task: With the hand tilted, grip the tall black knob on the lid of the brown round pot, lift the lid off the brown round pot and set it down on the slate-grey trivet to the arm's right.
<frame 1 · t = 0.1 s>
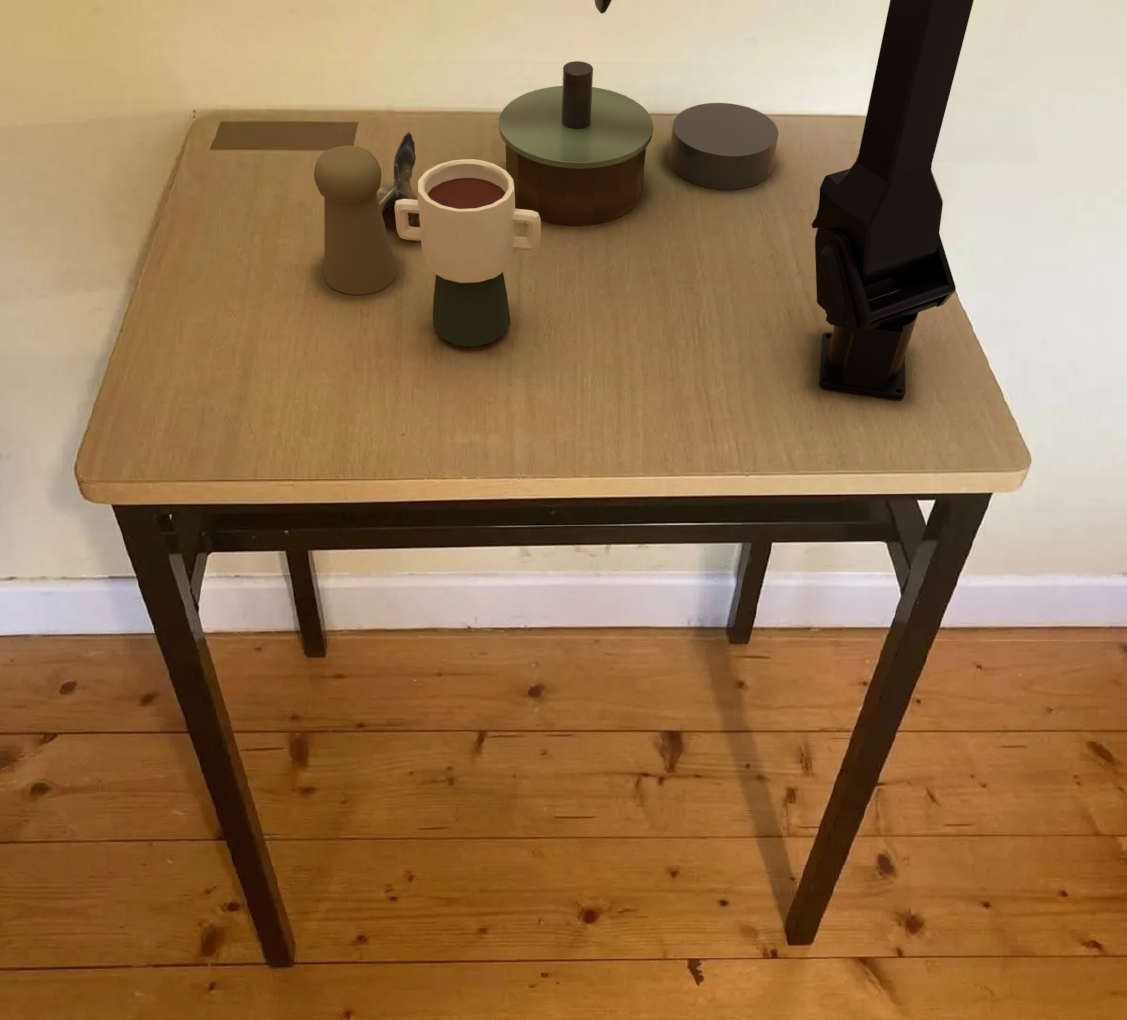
hand: (646, 0, 97), 15 cm above the table, tool pointing down, fingers open, 9 cm apart
brown pawn: (360, 275, 95), on the table
lid: (575, 128, 100), point 6 cm above the table, touching brown round pot
brown round pot: (573, 187, 105), on the table
trivet: (720, 161, 108), on the table
character mug: (472, 329, 90), on the table
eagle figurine: (403, 219, 101), on the table
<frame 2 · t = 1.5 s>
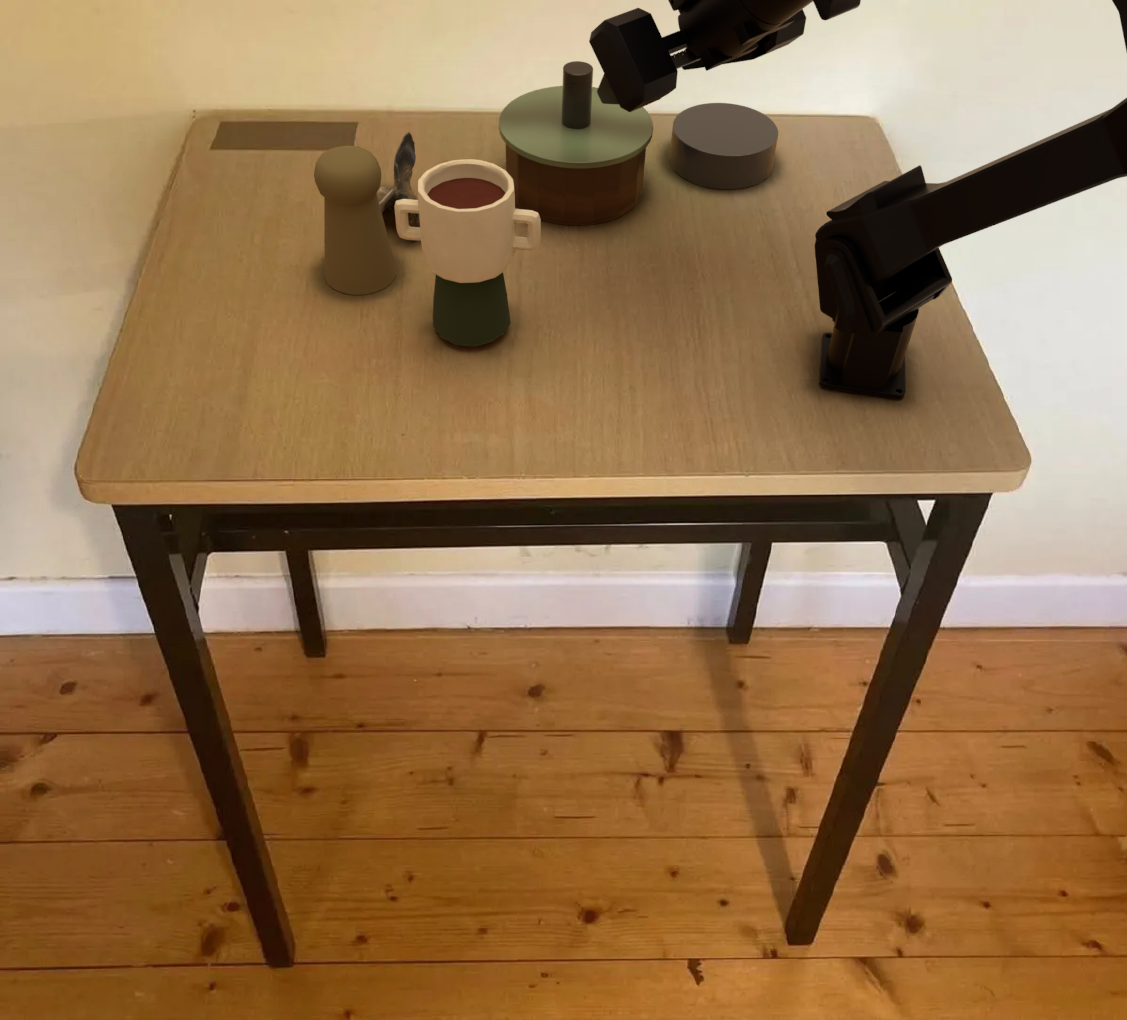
hand: (642, 80, 91), 13 cm above the table, tool tilted 45°, fingers open, 9 cm apart
nothing on the table moved.
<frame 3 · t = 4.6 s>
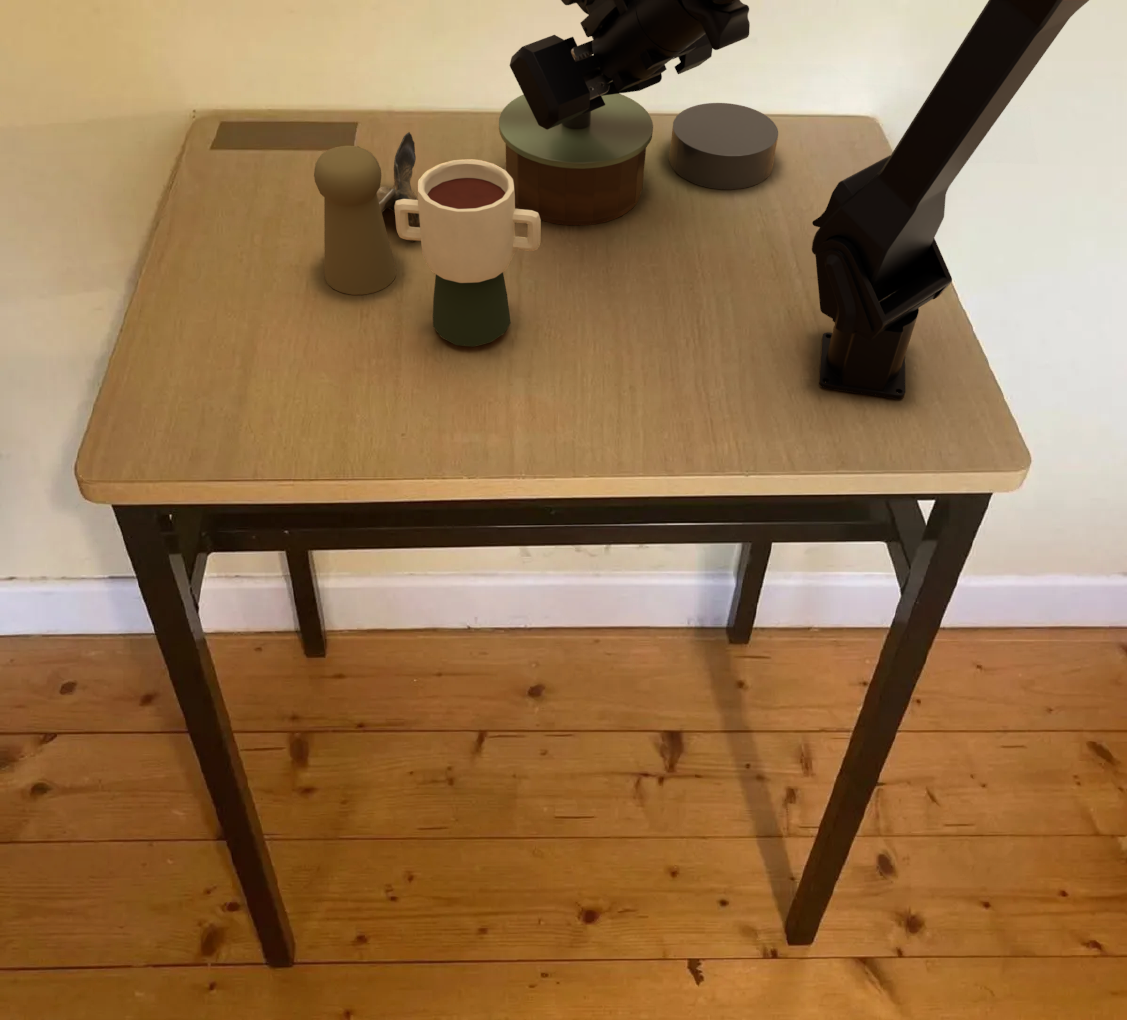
hand: (566, 97, 99), 8 cm above the table, tool tilted 45°, fingers closed on lid, 3 cm apart
lid: (575, 128, 100), point 6 cm above the table, touching brown round pot, gripper
everything else where it was.
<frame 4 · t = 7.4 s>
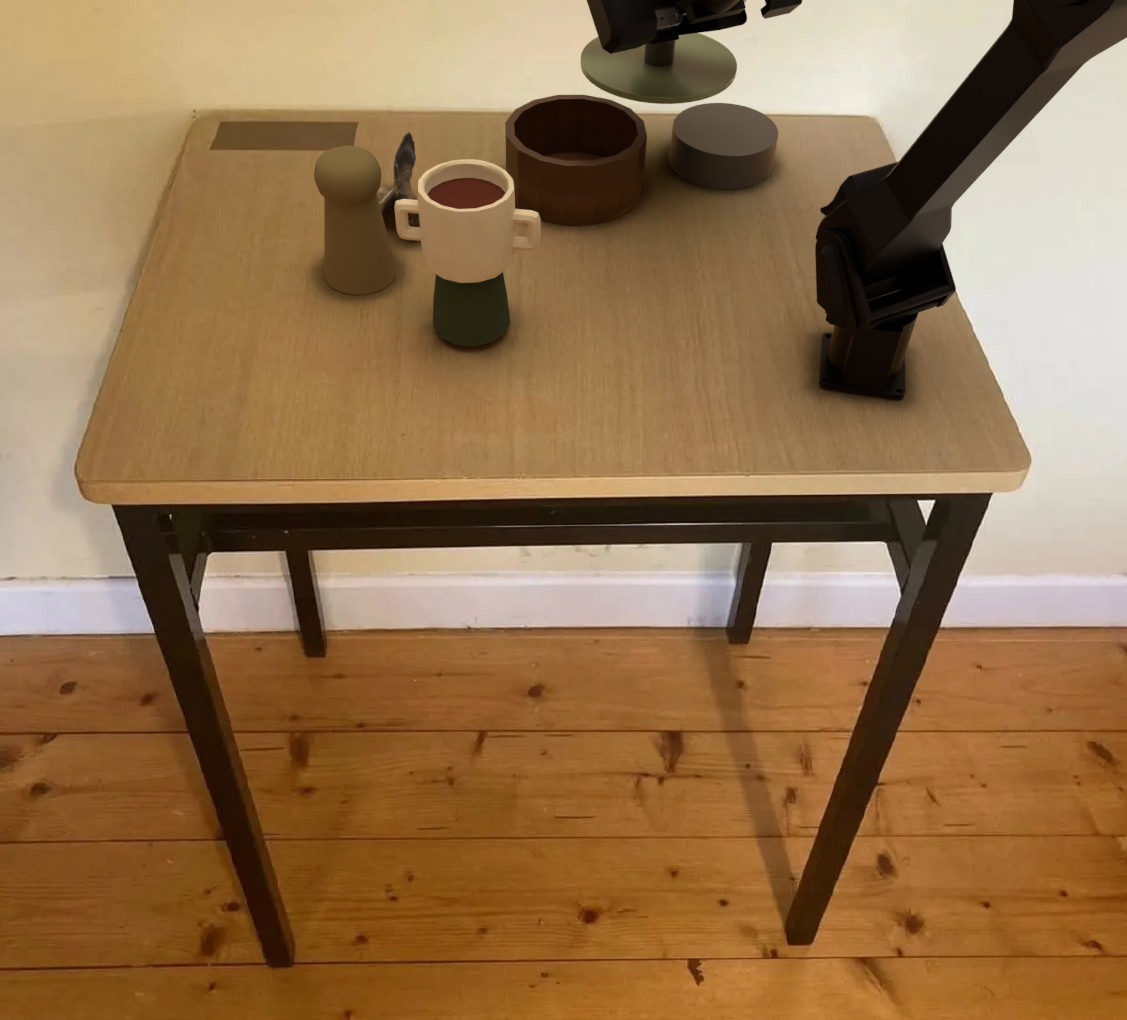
hand: (652, 33, 98), 13 cm above the table, tool tilted 45°, fingers closed on lid, 3 cm apart
lid: (658, 66, 99), point 11 cm above the table, touching gripper
everything else where it was.
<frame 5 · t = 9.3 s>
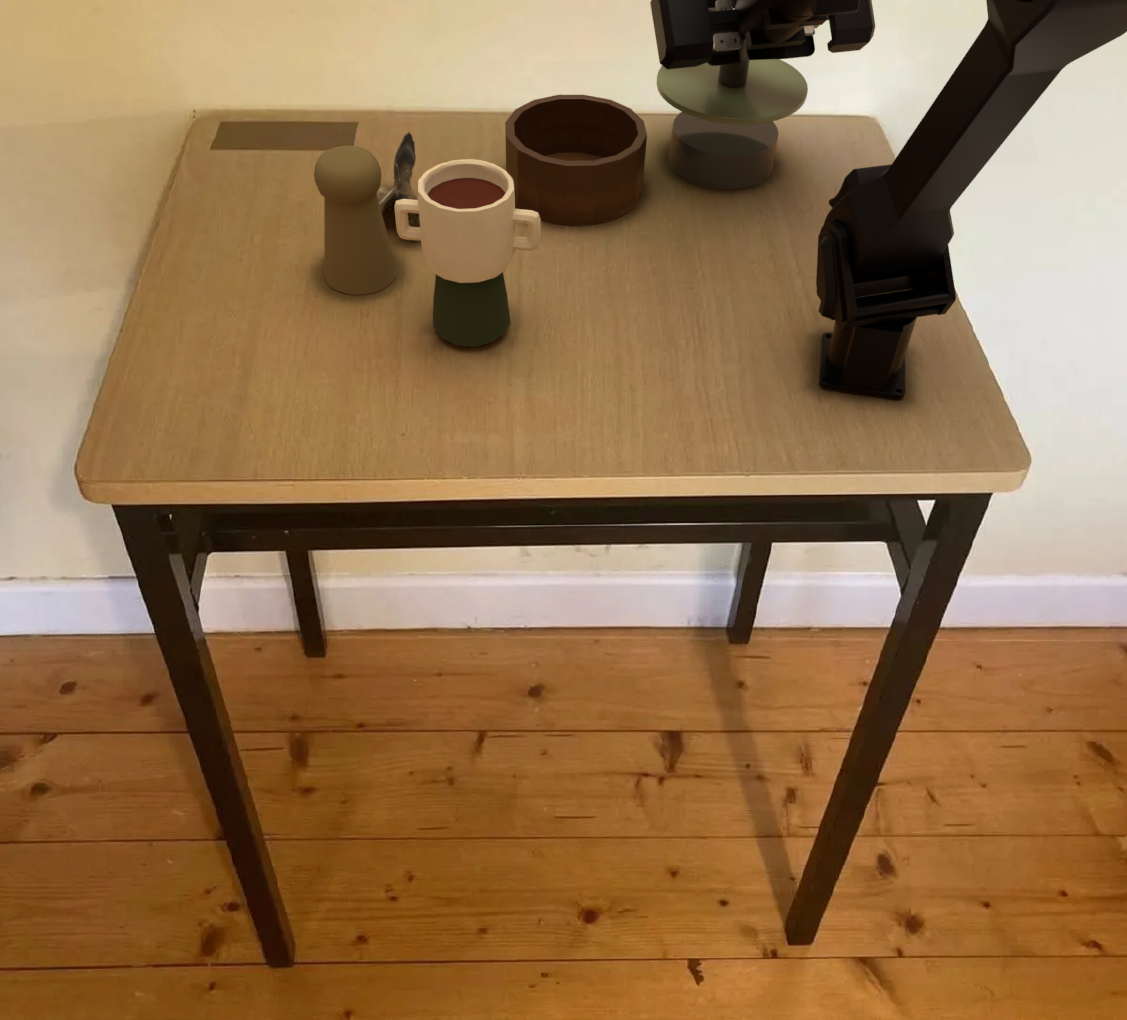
hand: (729, 55, 102), 10 cm above the table, tool tilted 45°, fingers closed on lid, 3 cm apart
lid: (731, 87, 103), point 8 cm above the table, touching gripper
everything else where it was.
when the fingers open (6 cm above the table, at t = 10.5 s): lid stays where it is, resting on trivet.
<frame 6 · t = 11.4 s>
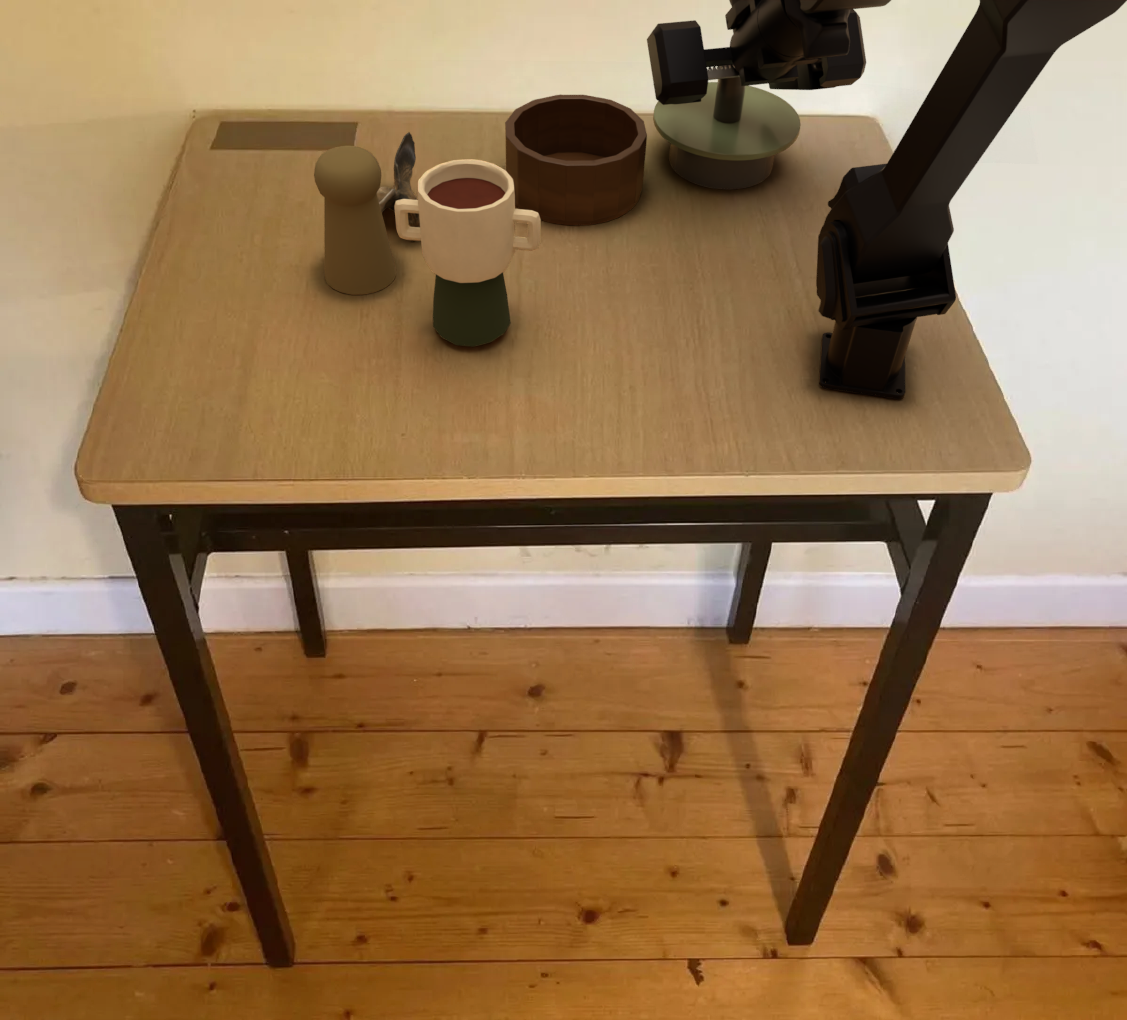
hand: (724, 88, 104), 7 cm above the table, tool tilted 45°, fingers open, 9 cm apart
lid: (726, 122, 105), point 4 cm above the table, touching trivet
everything else where it was.
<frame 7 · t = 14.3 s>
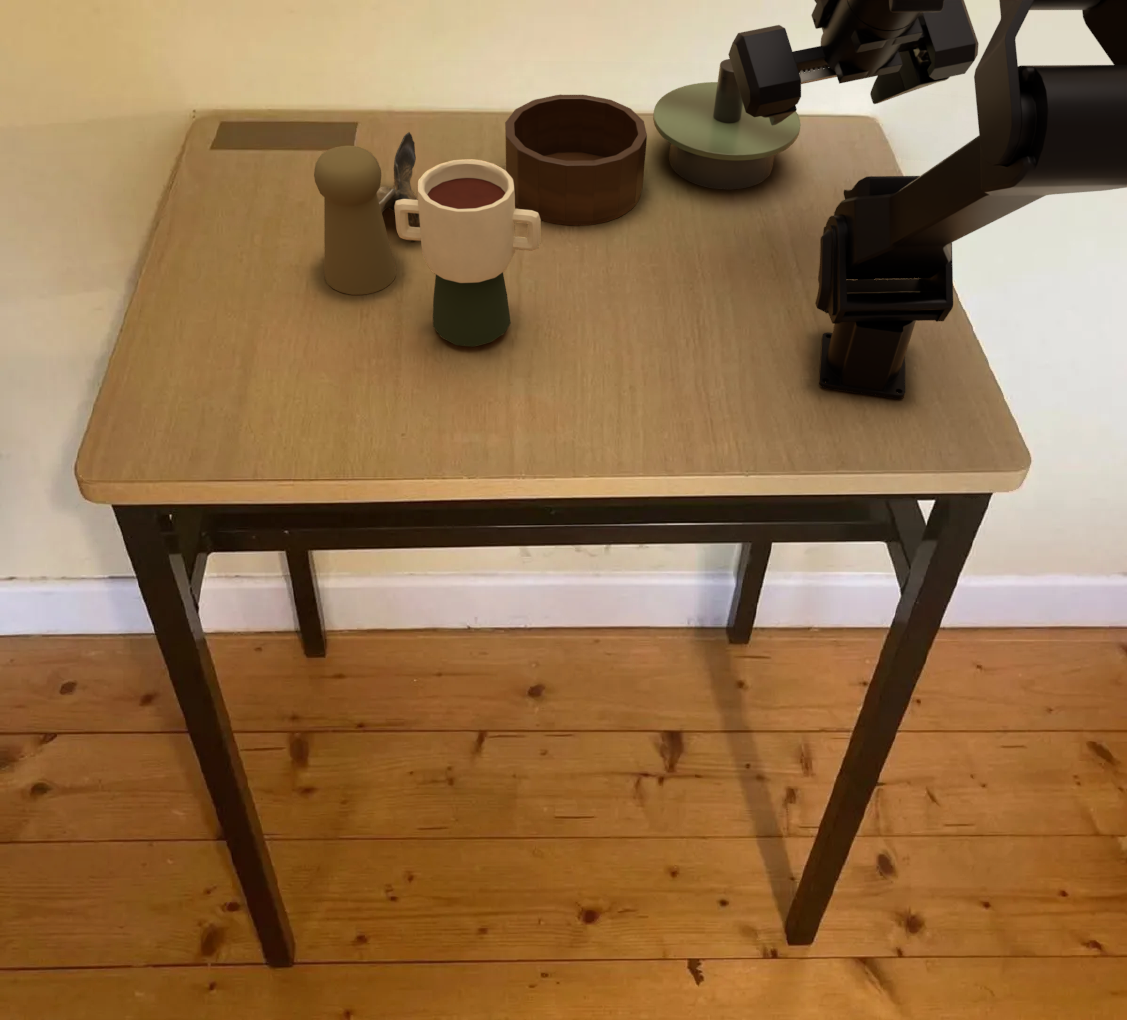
hand: (822, 109, 95), 10 cm above the table, tool tilted 35°, fingers open, 9 cm apart
nothing on the table moved.
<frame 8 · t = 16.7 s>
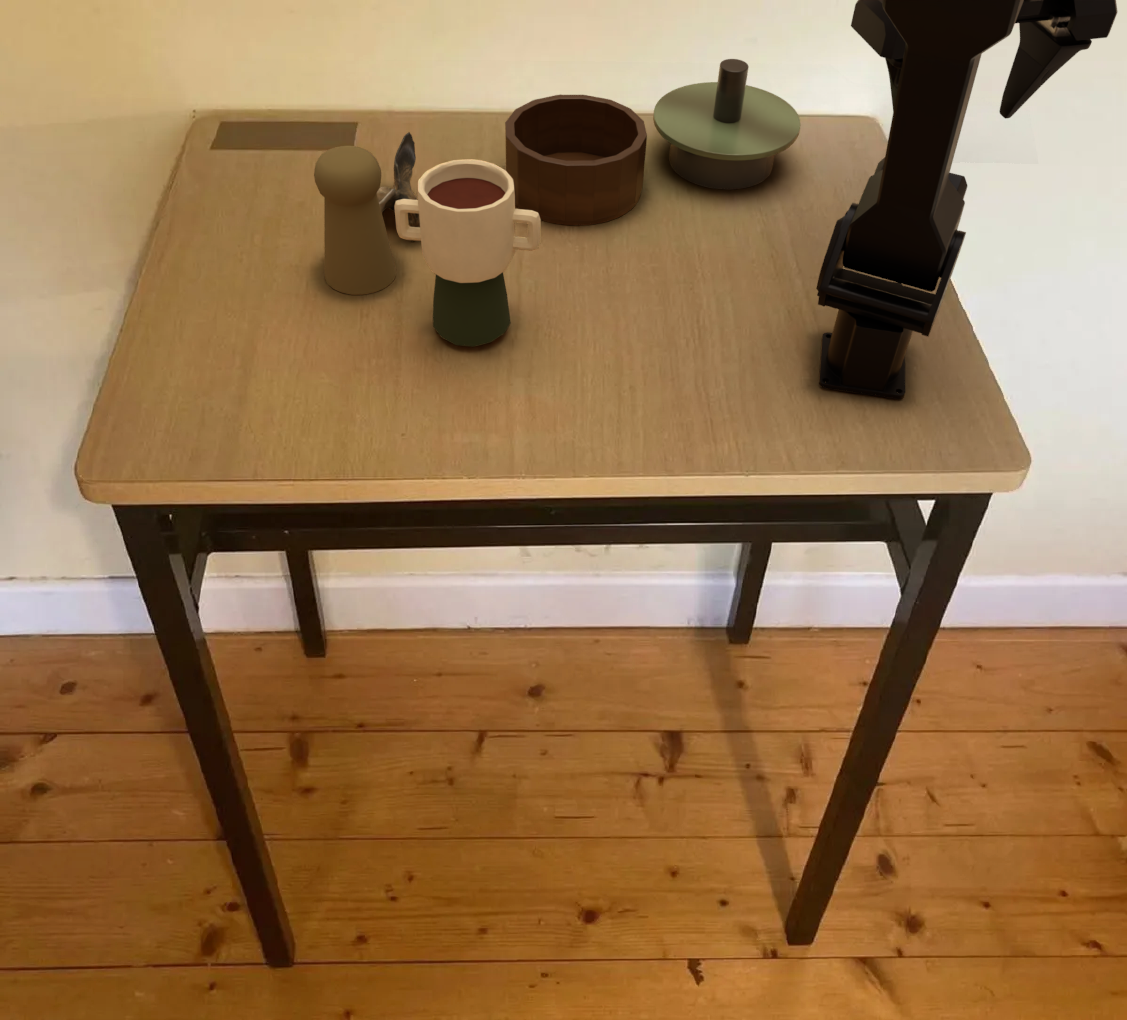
hand: (952, 121, 89), 13 cm above the table, tool pointing down, fingers open, 9 cm apart
nothing on the table moved.
at the end: lid 0.0 cm off-centre on the trivet, point 4.1 cm above the trivet's base; lid tilted 0°; the gripper is holding nothing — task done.
